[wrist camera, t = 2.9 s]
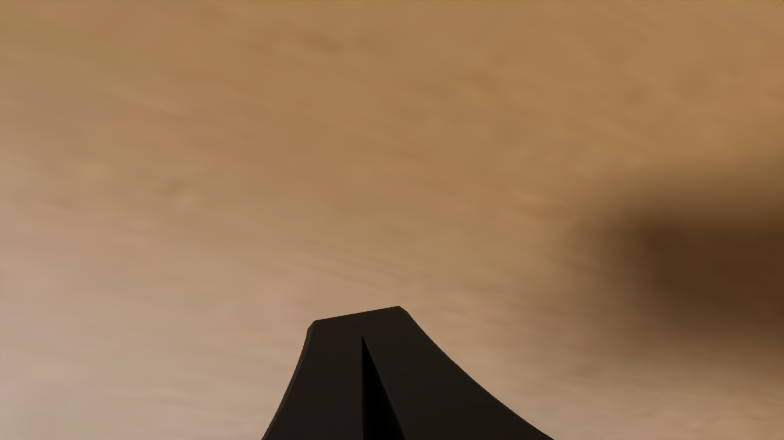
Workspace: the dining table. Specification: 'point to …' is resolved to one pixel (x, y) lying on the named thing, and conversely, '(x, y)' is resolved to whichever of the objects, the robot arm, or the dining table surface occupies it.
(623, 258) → the dining table surface
